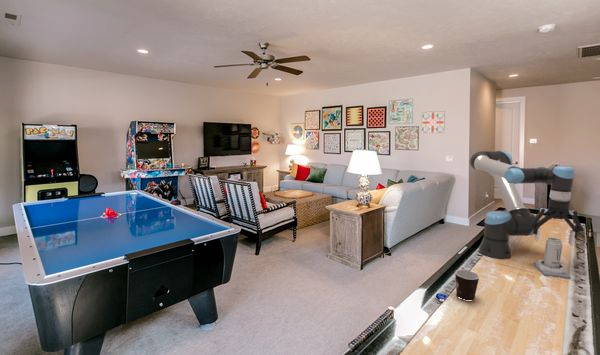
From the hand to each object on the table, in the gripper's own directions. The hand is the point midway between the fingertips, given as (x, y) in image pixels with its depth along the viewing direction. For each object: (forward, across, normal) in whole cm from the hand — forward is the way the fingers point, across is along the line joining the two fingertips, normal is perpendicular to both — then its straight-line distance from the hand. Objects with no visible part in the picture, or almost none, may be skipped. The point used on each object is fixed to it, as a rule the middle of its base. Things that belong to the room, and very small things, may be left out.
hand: (553, 242), depth 148 cm
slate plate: (+14, 0, -1) cm, 14 cm away
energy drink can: (+14, 0, -1) cm, 14 cm away
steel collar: (+14, 0, -1) cm, 14 cm away
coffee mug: (+14, -44, -42) cm, 62 cm away
